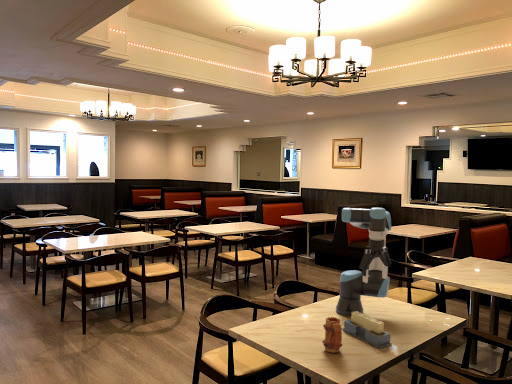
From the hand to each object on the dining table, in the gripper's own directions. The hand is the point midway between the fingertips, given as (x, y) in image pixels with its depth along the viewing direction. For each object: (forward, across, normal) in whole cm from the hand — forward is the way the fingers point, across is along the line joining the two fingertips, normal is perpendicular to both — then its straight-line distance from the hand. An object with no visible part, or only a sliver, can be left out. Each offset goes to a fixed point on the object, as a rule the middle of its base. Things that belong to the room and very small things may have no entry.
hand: (374, 280), depth 208 cm
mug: (+24, -37, -12) cm, 46 cm away
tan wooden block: (+24, -11, -6) cm, 27 cm away
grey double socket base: (+25, -11, -6) cm, 28 cm away
